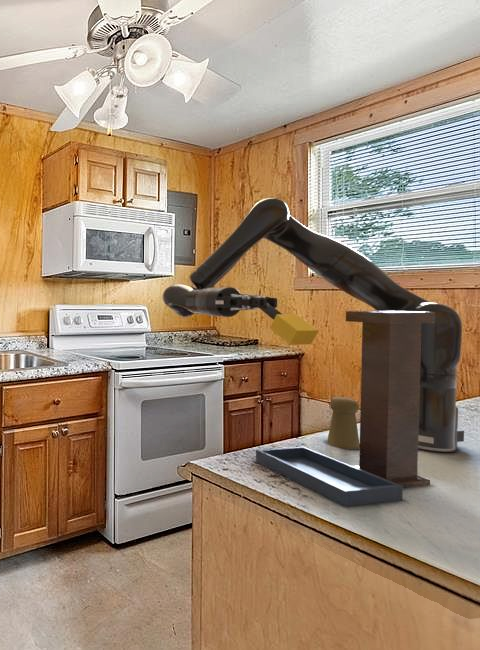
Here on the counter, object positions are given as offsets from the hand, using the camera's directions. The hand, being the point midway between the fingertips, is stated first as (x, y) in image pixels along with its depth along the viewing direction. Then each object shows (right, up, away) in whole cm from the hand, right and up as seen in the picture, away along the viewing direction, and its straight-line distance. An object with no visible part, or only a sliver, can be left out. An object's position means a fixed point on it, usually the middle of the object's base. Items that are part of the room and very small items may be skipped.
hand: (270, 302), depth 93 cm
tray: (+2, -34, -12) cm, 36 cm away
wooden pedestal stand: (+14, -34, -12) cm, 39 cm away
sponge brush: (0, -4, -1) cm, 4 cm away
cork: (+21, -33, +7) cm, 40 cm away
